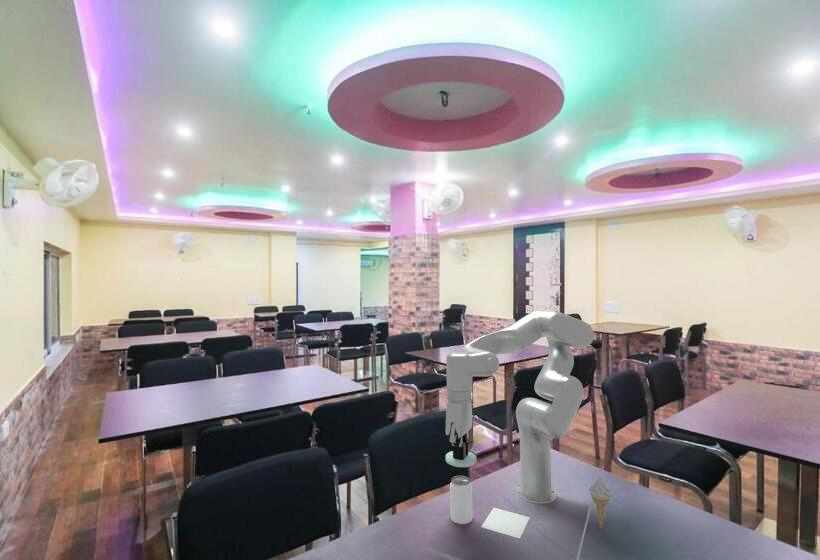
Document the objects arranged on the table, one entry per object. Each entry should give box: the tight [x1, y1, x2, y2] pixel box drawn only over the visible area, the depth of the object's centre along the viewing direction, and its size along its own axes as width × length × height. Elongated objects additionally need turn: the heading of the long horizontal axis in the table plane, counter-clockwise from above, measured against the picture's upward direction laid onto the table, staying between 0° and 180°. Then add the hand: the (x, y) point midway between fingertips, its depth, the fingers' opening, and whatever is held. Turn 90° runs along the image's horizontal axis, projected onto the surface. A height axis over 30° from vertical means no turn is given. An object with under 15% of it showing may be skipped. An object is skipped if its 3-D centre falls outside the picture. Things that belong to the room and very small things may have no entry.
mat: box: [480, 507, 530, 540], centre depth 117 cm, size 11×11×1 cm
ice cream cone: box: [589, 475, 612, 530], centre depth 114 cm, size 6×6×15 cm
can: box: [449, 475, 474, 525], centre depth 120 cm, size 6×6×12 cm
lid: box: [445, 442, 477, 468], centre depth 119 cm, size 9×9×5 cm
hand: (460, 456), depth 119 cm, fingers closed on lid, 2 cm apart
